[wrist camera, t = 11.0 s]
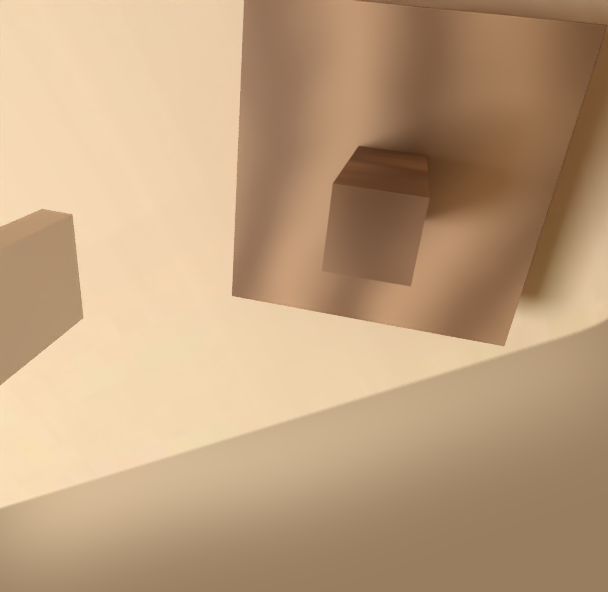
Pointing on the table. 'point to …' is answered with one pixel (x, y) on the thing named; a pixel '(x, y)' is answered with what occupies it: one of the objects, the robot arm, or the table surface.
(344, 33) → the lid
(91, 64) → the table surface
